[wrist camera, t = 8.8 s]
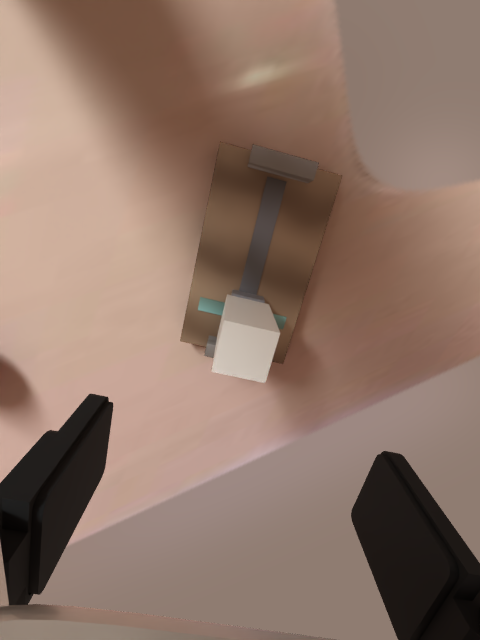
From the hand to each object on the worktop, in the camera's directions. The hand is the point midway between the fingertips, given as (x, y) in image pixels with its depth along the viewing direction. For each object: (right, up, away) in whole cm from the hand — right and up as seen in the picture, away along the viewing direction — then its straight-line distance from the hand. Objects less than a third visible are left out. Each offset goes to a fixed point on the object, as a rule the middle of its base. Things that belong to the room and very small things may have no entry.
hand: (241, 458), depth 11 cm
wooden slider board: (+1, +10, +18) cm, 21 cm away
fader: (0, +5, +17) cm, 18 cm away
